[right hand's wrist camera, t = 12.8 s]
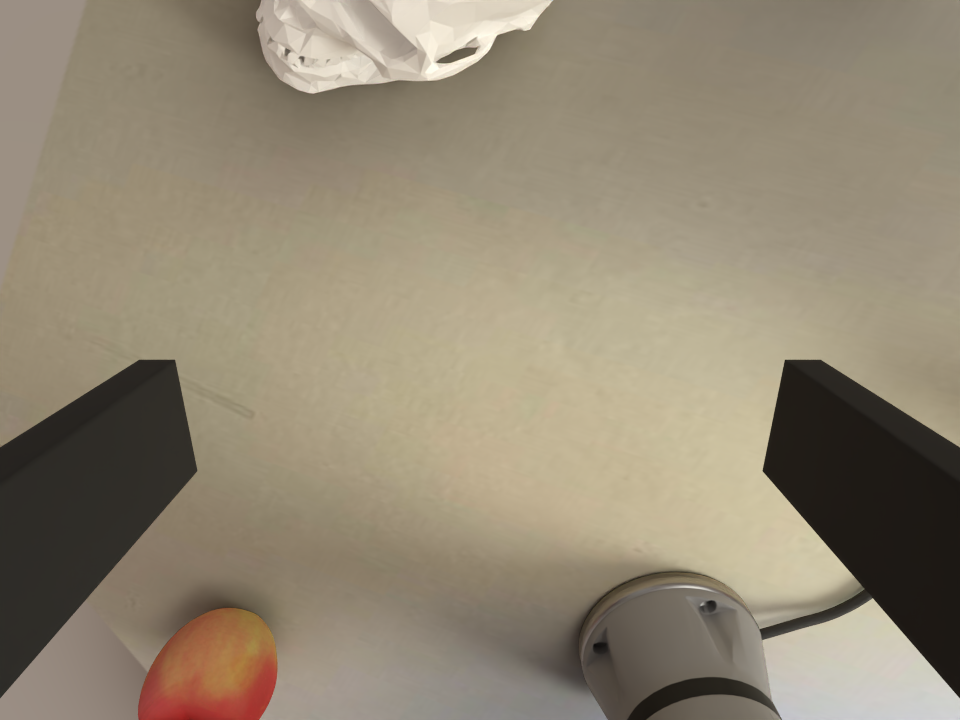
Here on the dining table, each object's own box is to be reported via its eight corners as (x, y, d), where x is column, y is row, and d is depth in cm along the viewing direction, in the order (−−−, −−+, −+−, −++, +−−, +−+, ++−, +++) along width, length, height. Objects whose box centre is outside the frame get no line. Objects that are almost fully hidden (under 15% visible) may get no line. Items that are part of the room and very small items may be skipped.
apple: (313, 651, 51) (275, 766, 41) (217, 677, 52) (159, 795, 42) (264, 568, 47) (210, 673, 38) (163, 598, 48) (87, 706, 39)
